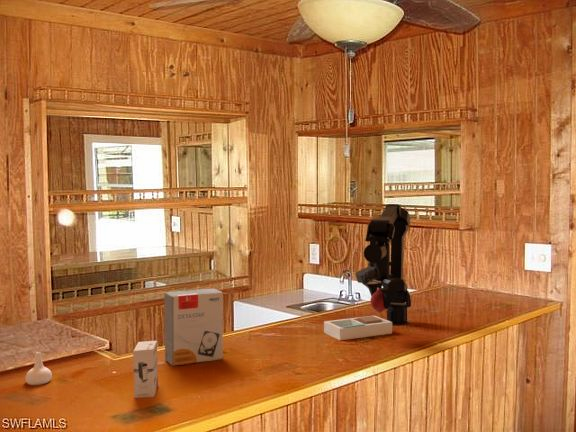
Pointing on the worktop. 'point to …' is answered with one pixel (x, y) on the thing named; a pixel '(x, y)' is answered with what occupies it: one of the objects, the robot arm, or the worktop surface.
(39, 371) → the garlic bulb
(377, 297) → the onion
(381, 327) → the white divided tray
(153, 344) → the ink box
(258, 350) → the worktop surface
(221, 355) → the hard drive box
